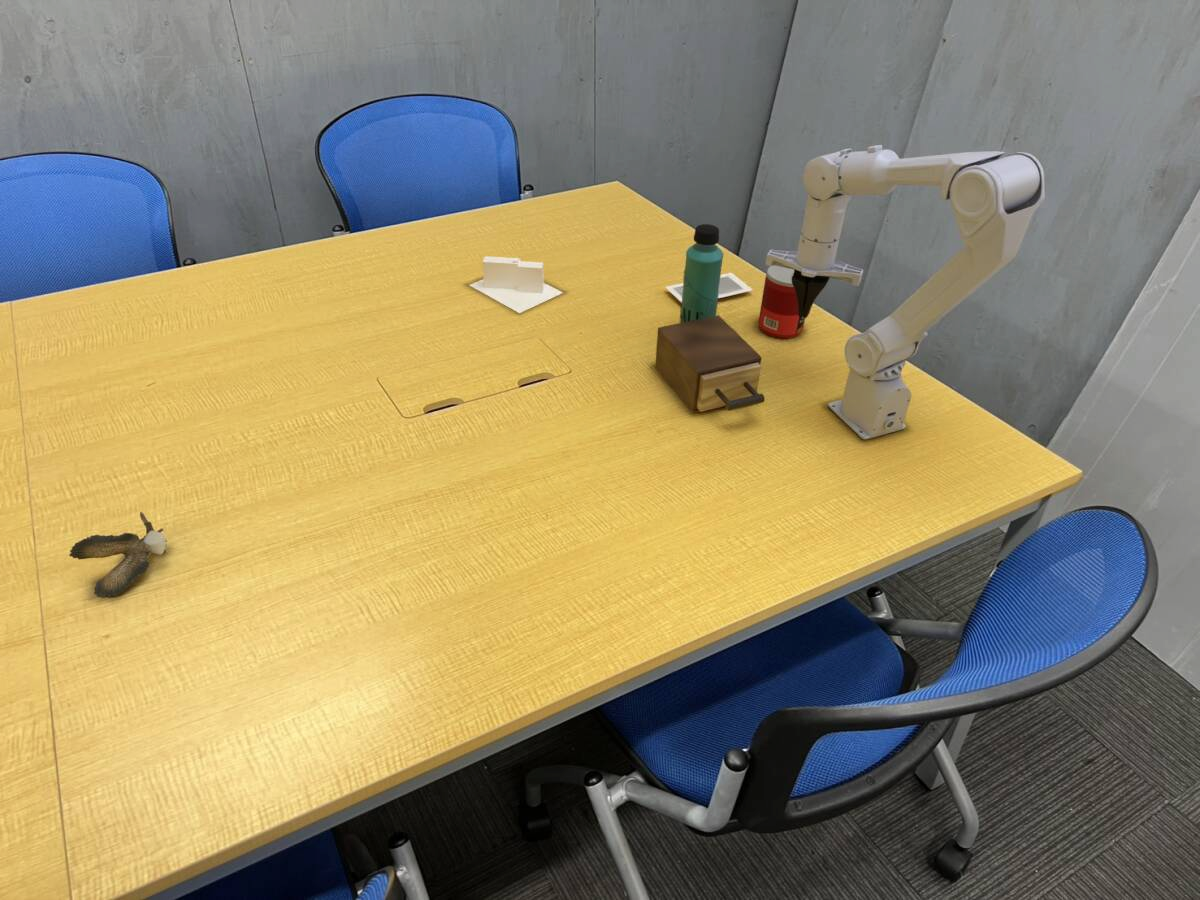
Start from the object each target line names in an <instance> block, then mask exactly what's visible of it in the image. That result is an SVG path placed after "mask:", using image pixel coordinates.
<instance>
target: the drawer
mask: <svg viewBox="0 0 1200 900" xmlns="http://www.w3.org/2000/svg"><path fill="white" fill-rule="evenodd" d="M761 371H762V365H761V364H759V363H758V362H756V363H752V364H750V363H747V364H743V365H739V366H735V367H734V368H731V369H726V370H722V371H718V372H713V373H709V374H705V375H704V374H701V376H700V384H699V393H698V401H697V409H698V410H699V411H698V412H700V413H701V412H705V411H706V412H707V411H709V410H710V411H711V410H714V409H718V408H721V407H725V409H726V410H727V411H728V412H731V411H735V410H739V409H743V408H747V407H750V406H754V405H759V404H763V403H764V402H765V401H766V400H765V399H766V397H765V395H764V394H763V393H759V392H758V388H759V382H760V377H761Z"/></svg>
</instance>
